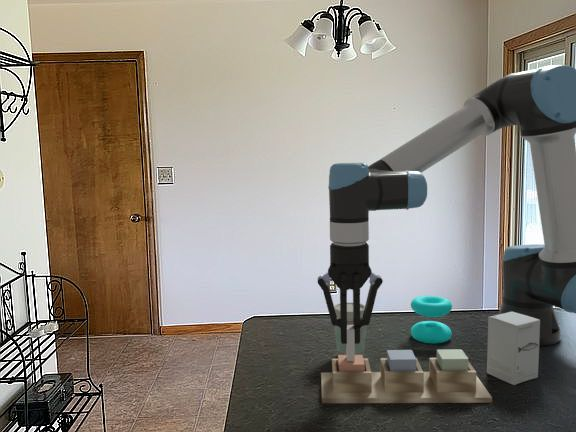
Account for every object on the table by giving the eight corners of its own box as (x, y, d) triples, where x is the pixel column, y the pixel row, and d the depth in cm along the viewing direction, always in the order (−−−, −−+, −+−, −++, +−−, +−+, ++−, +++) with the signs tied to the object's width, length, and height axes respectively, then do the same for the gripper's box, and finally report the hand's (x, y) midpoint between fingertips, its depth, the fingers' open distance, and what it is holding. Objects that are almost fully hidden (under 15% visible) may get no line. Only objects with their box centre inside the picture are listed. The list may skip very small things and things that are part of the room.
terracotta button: (362, 373, 112) (362, 354, 112) (364, 383, 108) (364, 364, 107) (338, 373, 113) (337, 354, 112) (339, 384, 108) (339, 364, 107)
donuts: (449, 294, 141) (454, 305, 131) (448, 332, 142) (454, 345, 132) (409, 293, 142) (412, 305, 133) (409, 331, 144) (412, 344, 134)
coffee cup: (368, 365, 122) (367, 313, 121) (330, 363, 124) (329, 311, 122) (370, 351, 131) (369, 302, 129) (334, 349, 132) (333, 301, 131)
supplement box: (514, 386, 110) (516, 325, 108) (485, 373, 116) (486, 315, 115) (539, 378, 113) (541, 319, 112) (510, 366, 120) (511, 310, 118)
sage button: (461, 368, 111) (461, 349, 111) (468, 378, 106) (468, 358, 106) (436, 368, 112) (436, 349, 111) (442, 378, 107) (442, 359, 106)
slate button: (411, 368, 112) (411, 349, 111) (416, 378, 107) (416, 359, 106) (387, 368, 112) (387, 350, 112) (390, 379, 107) (390, 359, 107)
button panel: (473, 375, 115) (473, 353, 114) (492, 402, 103) (492, 377, 103) (321, 377, 117) (320, 354, 116) (322, 403, 105) (321, 378, 104)
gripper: (380, 238, 110) (381, 351, 113) (315, 239, 111) (317, 351, 114) (385, 245, 103) (385, 365, 106) (315, 246, 103) (318, 366, 106)
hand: (350, 358), depth 110 cm, fingers closed
